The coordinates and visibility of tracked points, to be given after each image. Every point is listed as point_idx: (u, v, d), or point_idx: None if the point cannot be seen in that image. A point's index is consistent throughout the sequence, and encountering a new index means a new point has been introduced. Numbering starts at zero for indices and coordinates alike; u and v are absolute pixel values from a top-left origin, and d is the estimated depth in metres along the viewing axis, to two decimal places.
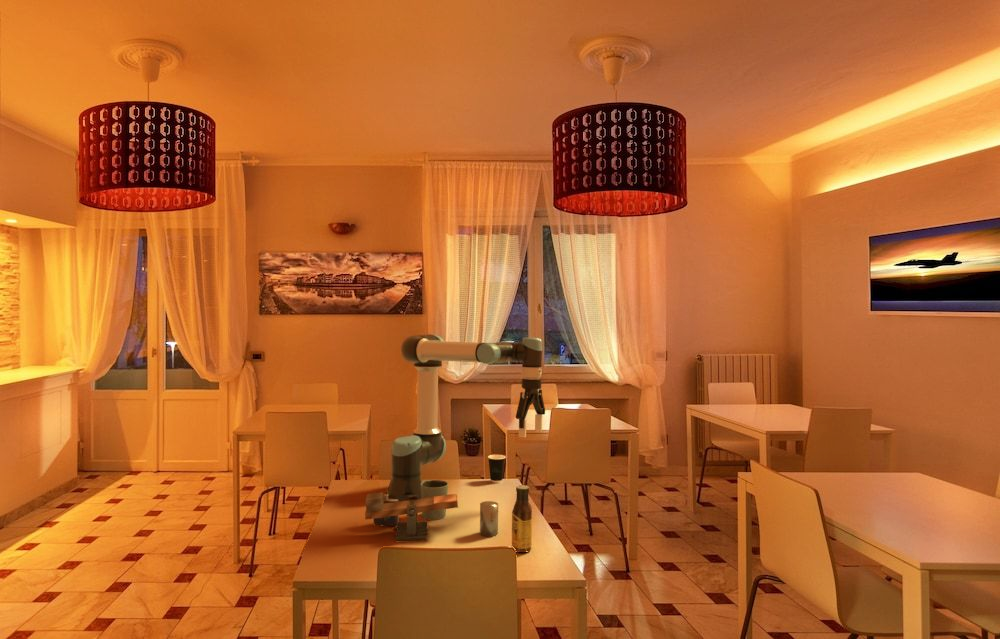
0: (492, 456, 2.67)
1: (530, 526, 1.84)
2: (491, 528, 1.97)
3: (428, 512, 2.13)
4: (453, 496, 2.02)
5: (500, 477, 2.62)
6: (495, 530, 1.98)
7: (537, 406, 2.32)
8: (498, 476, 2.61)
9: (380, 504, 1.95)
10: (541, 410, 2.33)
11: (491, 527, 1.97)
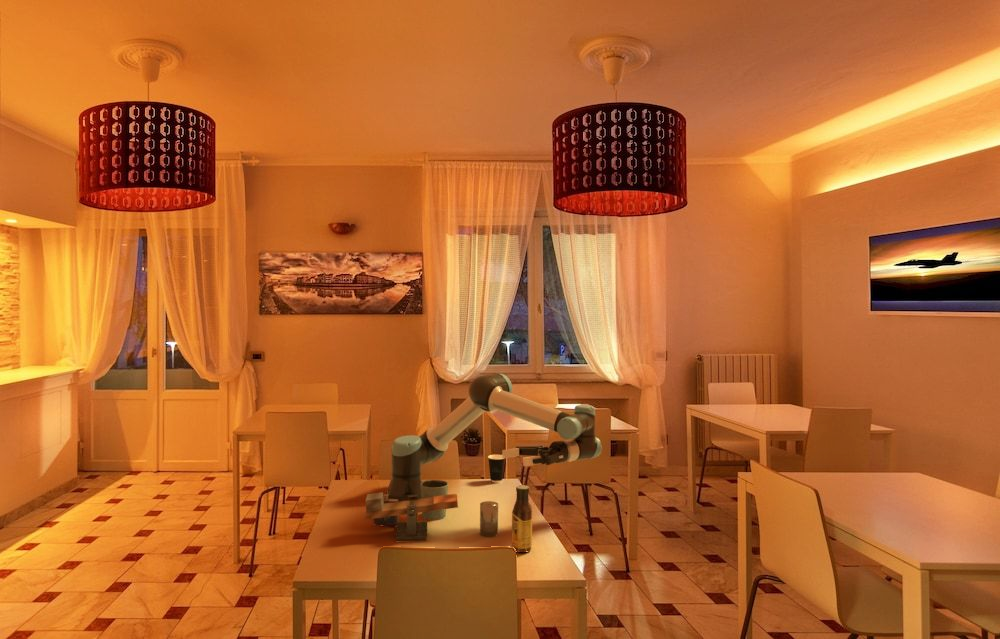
0: (492, 456, 2.67)
1: (530, 526, 1.84)
2: (491, 528, 1.97)
3: (428, 512, 2.13)
4: (453, 496, 2.02)
5: (500, 477, 2.62)
6: (495, 530, 1.98)
7: (530, 453, 2.13)
8: (498, 476, 2.61)
9: (380, 504, 1.95)
10: None
11: (491, 527, 1.97)
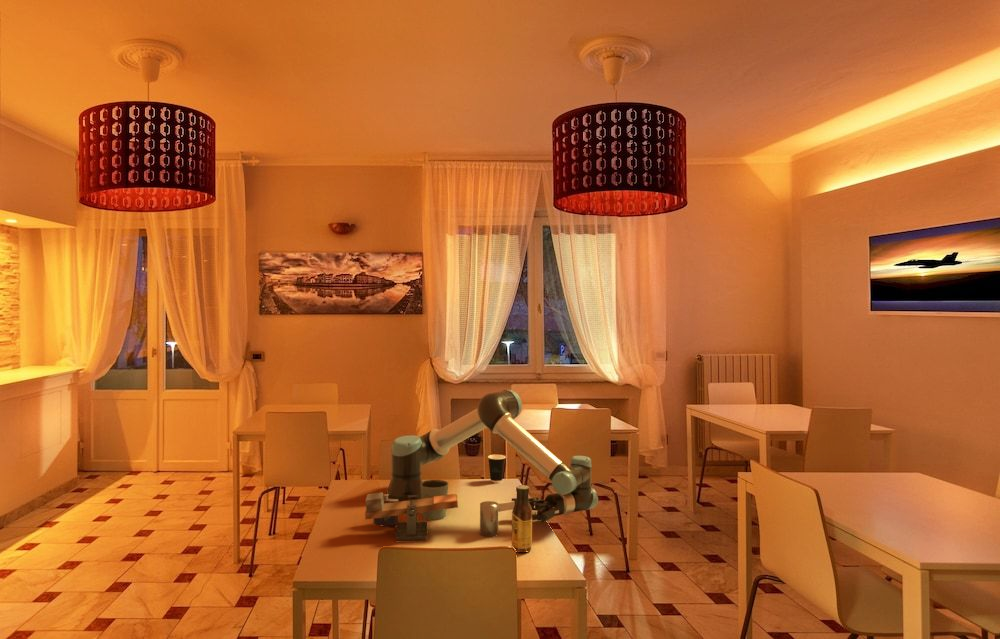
0: (492, 456, 2.67)
1: (530, 526, 1.84)
2: (491, 528, 1.97)
3: (428, 512, 2.13)
4: (453, 496, 2.02)
5: (500, 477, 2.62)
6: (495, 530, 1.98)
7: None
8: (498, 476, 2.61)
9: (380, 504, 1.95)
10: None
11: (491, 527, 1.97)
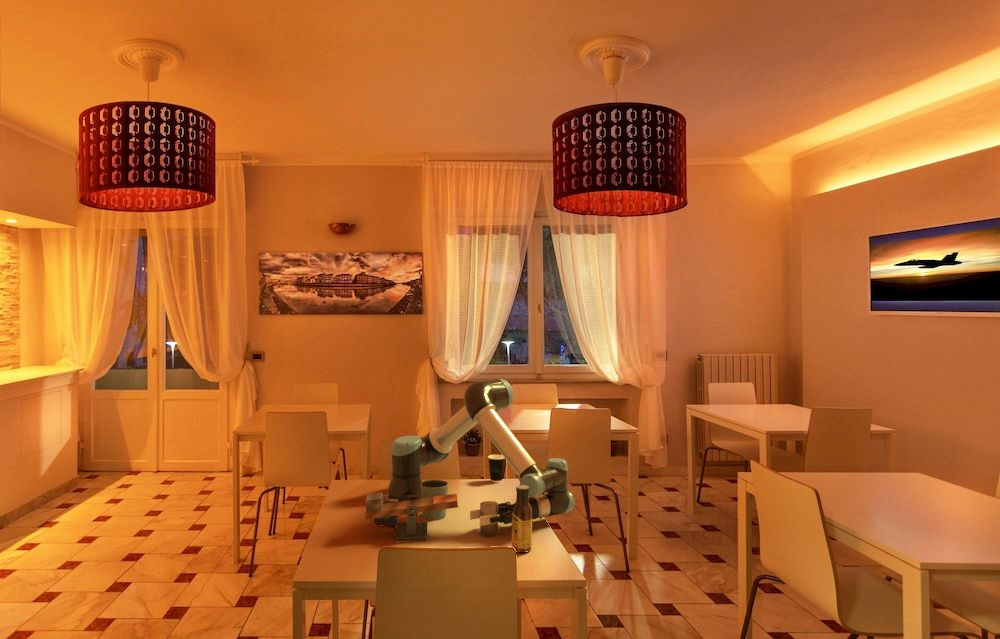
0: (492, 456, 2.67)
1: (530, 526, 1.84)
2: (491, 528, 1.97)
3: (428, 512, 2.13)
4: (453, 496, 2.02)
5: (500, 477, 2.62)
6: (495, 530, 1.98)
7: (500, 512, 2.05)
8: (498, 476, 2.61)
9: (380, 504, 1.95)
10: None
11: (491, 527, 1.97)
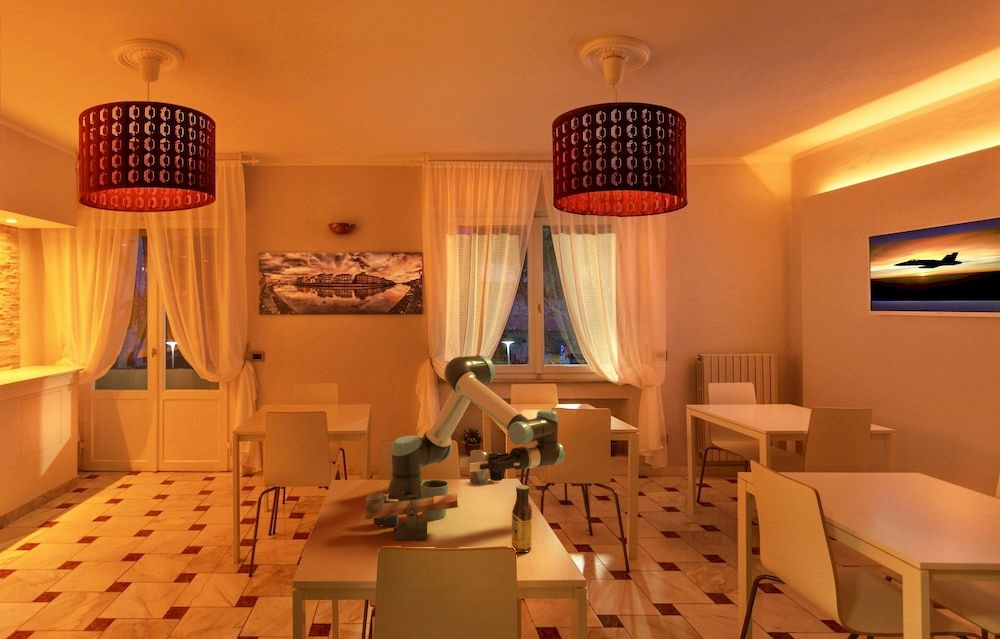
0: None
1: (530, 526, 1.84)
2: (481, 475, 1.97)
3: (428, 512, 2.13)
4: (453, 496, 2.02)
5: (500, 477, 2.62)
6: (485, 477, 1.97)
7: None
8: (498, 476, 2.61)
9: (380, 504, 1.95)
10: None
11: (481, 474, 1.97)
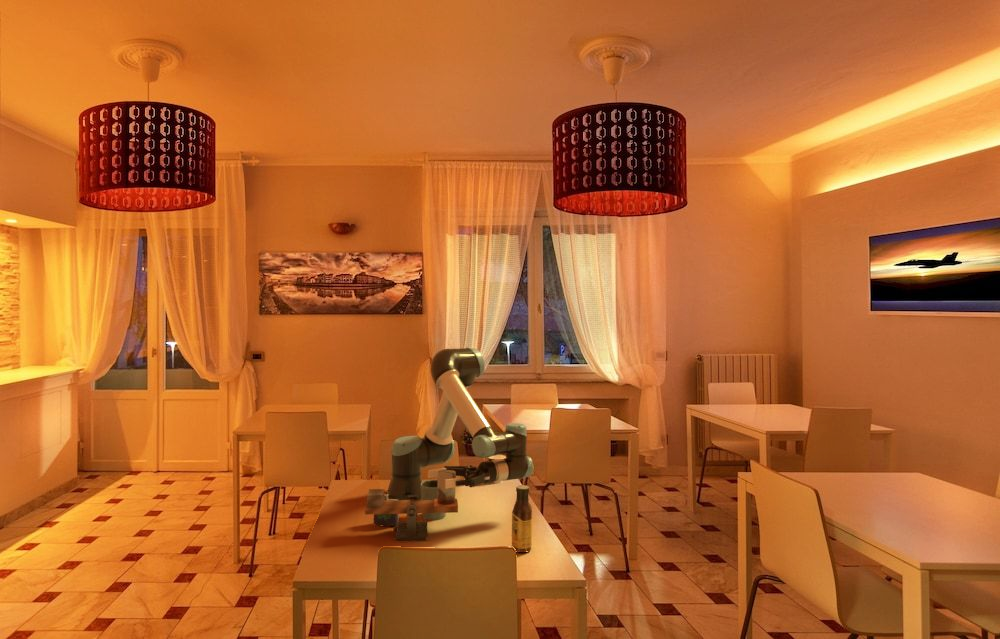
0: (492, 456, 2.67)
1: (530, 526, 1.84)
2: (448, 495, 1.98)
3: None
4: None
5: None
6: (452, 498, 1.99)
7: (457, 473, 2.08)
8: None
9: (381, 501, 1.95)
10: None
11: (448, 495, 1.98)
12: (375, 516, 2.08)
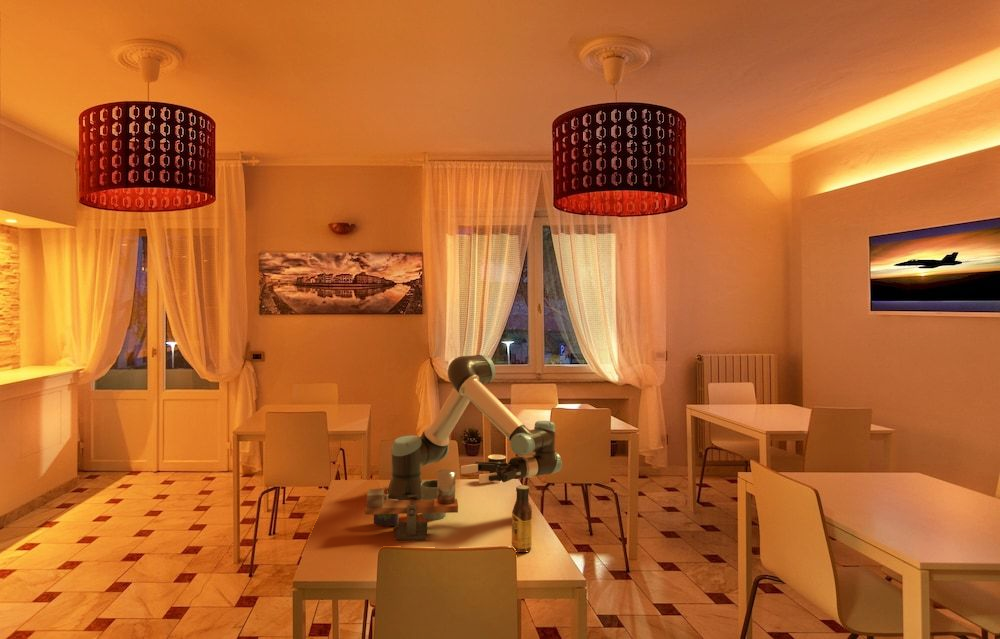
0: (492, 456, 2.67)
1: (530, 526, 1.84)
2: (448, 495, 1.98)
3: None
4: None
5: None
6: (452, 497, 1.99)
7: (488, 469, 2.14)
8: None
9: (381, 501, 1.95)
10: (481, 470, 2.15)
11: (448, 494, 1.98)
12: (375, 516, 2.08)
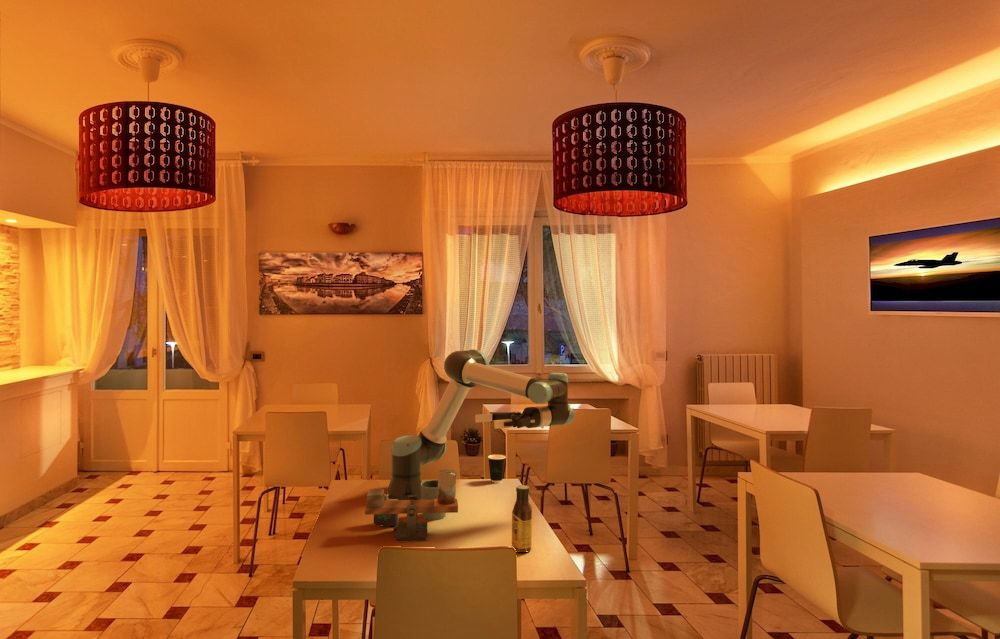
0: (492, 456, 2.67)
1: (530, 526, 1.84)
2: (448, 495, 1.98)
3: None
4: None
5: (500, 477, 2.62)
6: (452, 498, 1.99)
7: (503, 418, 2.17)
8: (498, 476, 2.61)
9: (381, 501, 1.95)
10: (495, 420, 2.18)
11: (447, 495, 1.98)
12: (375, 516, 2.08)
